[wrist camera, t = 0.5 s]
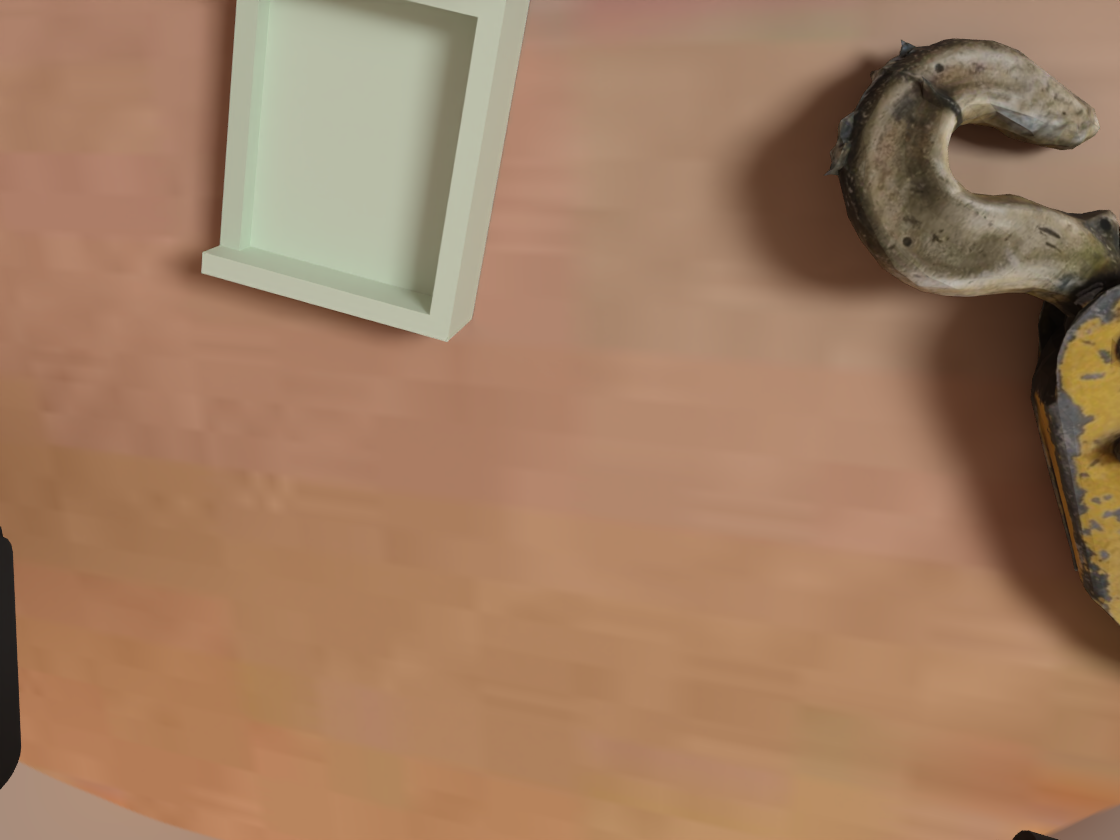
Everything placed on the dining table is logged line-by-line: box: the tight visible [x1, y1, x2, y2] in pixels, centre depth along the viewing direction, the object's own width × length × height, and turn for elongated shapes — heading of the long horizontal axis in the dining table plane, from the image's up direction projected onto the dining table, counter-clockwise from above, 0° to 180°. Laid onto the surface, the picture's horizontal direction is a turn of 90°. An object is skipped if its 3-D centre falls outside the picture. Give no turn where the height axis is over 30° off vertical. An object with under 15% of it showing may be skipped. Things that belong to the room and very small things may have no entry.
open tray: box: [201, 0, 530, 342], centre depth 35 cm, size 12×10×3 cm
